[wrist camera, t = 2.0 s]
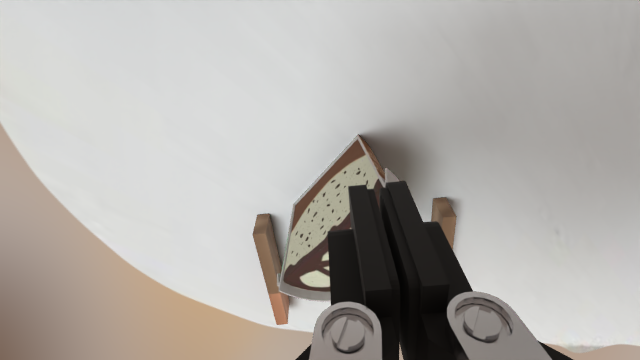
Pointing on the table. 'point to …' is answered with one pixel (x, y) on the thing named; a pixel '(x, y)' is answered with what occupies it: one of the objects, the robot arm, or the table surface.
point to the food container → (326, 220)
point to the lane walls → (273, 266)
